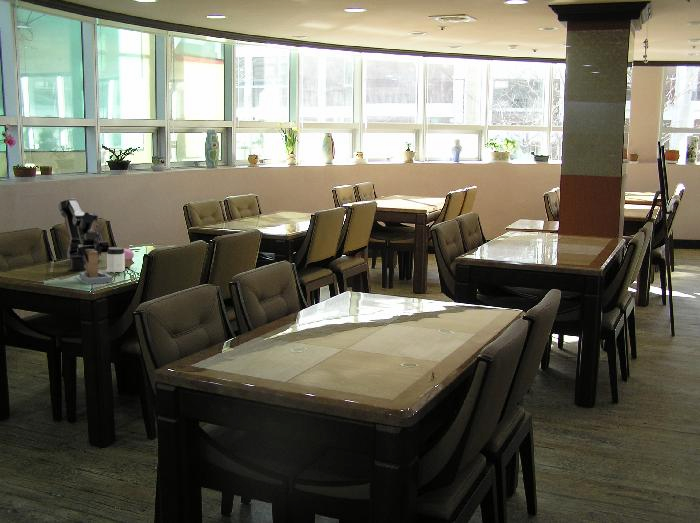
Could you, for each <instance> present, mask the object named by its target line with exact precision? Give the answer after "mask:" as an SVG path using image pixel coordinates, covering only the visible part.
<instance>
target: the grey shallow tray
mask: <svg viewBox="0 0 700 523" xmlns="http://www.w3.org/2000/svg"><path fill="white" fill-rule="evenodd" d="M75 279H77V280H78V281H80V282H81V283H84V284H85V285H94V283H96V284H106V282H109V283H115V281H114V280H113V276H112V275H110V274H108V273H107V272H105V273H103V272H102V271H99V270H98V277H97V278H89V277H87V275H86V271H82V272H80V271H79V276H75Z"/></svg>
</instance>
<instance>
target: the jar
mask: <svg viewBox="0 0 700 523" xmlns="http://www.w3.org/2000/svg"><path fill="white" fill-rule="evenodd" d="M124 249H125V248H124V247H121V246H109V249H108V252H106V270H107V272H106V273H110V272H114V273H113V274H116V273H115V272H122V273H124V272H125V271H126V268H125V253H124ZM124 270H125V271H124ZM123 271H124V272H123Z"/></svg>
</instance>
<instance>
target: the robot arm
mask: <svg viewBox="0 0 700 523" xmlns="http://www.w3.org/2000/svg"><path fill="white" fill-rule="evenodd" d="M58 211H59V212H60V215H61V216H62V217H63V218H64V220H65V219H66V223H67V227H68V231H69V234H68V236H69V239H70V240H71V242H70V241H69V244H68V248H67V252H66V257H67V259H69V260H70V265H69V266H70V268H68V269H67V270H69V271H72V272H78V271H79V272H80V271H86V267H85V263H86V262H87V263H88V262H89V261H88V257H87V254H86V250H93V249H94V250H95V251H97V252H98V255H99V254H100V253H102V252H103V253H107V252H108V249H109V248H110V247H111V246H110V242H109V241H103V242H100V244H99V245H94V243H95V242H96V241H95V239H97V238H99V237H100V234H99V231H95V232H91V231H90V229H92V226H93V222H94V217H93V216H92V215H90V214H91V213H89V212H86V211H83V210H82V208H81V207H80V205H79V203H78V199H77V198H66V199H65V200H63V201H60V202H59V204H58ZM77 226H79V227H78V228H77ZM103 253H102V254H103ZM84 260H85V261H84Z"/></svg>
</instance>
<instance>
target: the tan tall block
mask: <svg viewBox="0 0 700 523" xmlns="http://www.w3.org/2000/svg"><path fill="white" fill-rule="evenodd" d="M86 254H87V257H88V261H89V262H88V263H87V262H86V261H85V268H86V270H85V272H86V275H87V277H89V278H97V277H98V271H99V258H98V252H97V251H95V250H86Z"/></svg>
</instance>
